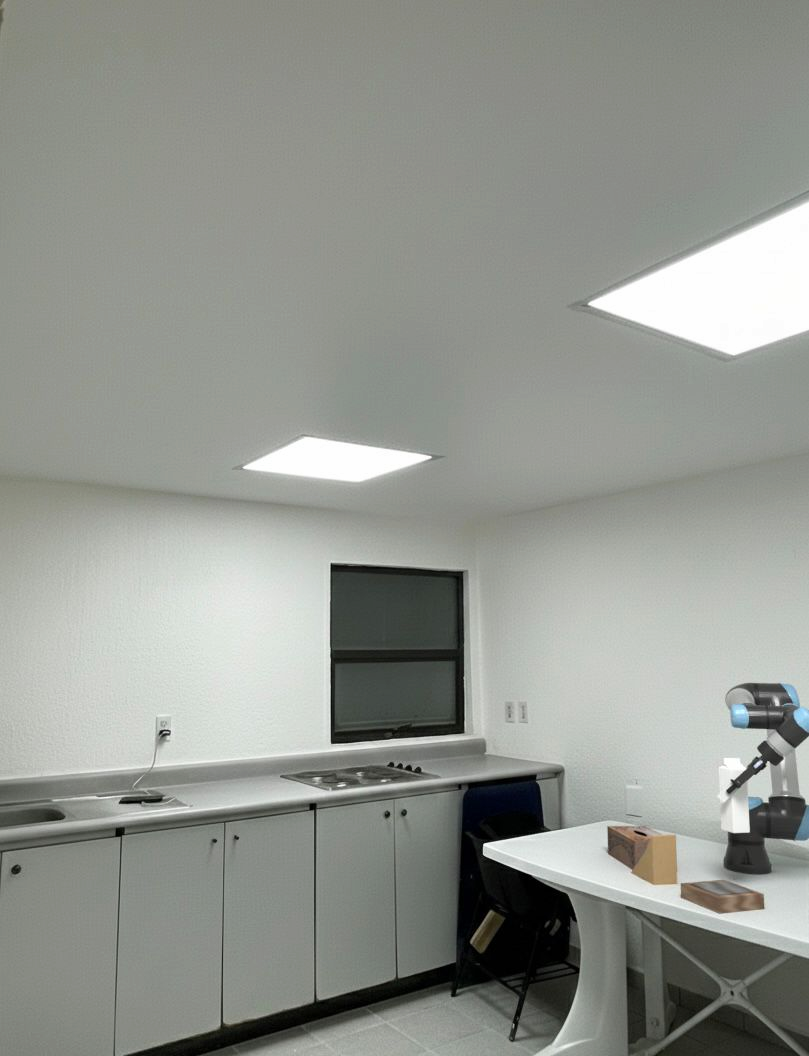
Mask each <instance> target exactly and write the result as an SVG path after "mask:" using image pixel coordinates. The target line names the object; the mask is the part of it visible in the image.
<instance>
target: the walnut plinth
mask: <svg viewBox="0 0 809 1056" xmlns="http://www.w3.org/2000/svg"><path fill="white" fill-rule="evenodd" d="M764 895H765V894H764V893H762V892H759V891H756V890H754V889H752V888H751V889H750V888H748V887H745V886H743V885H740V884H737V883H734V882H732V881H728V880H726V879H717V880H714V879H713V880H703V881H693V882H680V898H681V899H684V900H686V901H689V902H691V903H693V904H696V905H697V906H700V907H703V908H704V909H707V910H710V911H712V912H714V913H717V914H725V913H727V914H729V913H736V912H737V913H738V912H745V911H746V912H747V911H755V910H757V911H758V910H764V909H765V896H764Z"/></svg>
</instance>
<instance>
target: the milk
mask: <svg viewBox="0 0 809 1056" xmlns="http://www.w3.org/2000/svg"><path fill="white" fill-rule="evenodd" d="M746 769H747V767H745V766H744V765H743V764H742V763H741V758H740V757H723V764H721V765H720V766H719V767H718V787H719V793H721V792H722V791H723V790H724V789H725V788H726V787H727V786H728V785H729V784H730V783H731V781H730V780H731V779H732V780H735V779H736V778H737V777H738V776H739V775H740V774H742V773H743V772H744V771H745V770H746ZM748 791H749V789H748V781H746V782H745V783H744V784H743V785H742V786H741V787H740V788H739V789H738V790H737V791H736V792H735V793H734V794H733V795H732V796H731V797H730V798H728V799H727V800H726V801H725V802H724V803H723V802H722V801H721V800H720V799H719V807H720V808H719V810H720V811H719V812H720V813H719V814H720V828H721V830H722V831H724V832H727V833H728V832H731V833H750V826H749V806H748V797H749V792H748Z"/></svg>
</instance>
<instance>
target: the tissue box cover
mask: <svg viewBox="0 0 809 1056" xmlns="http://www.w3.org/2000/svg"><path fill="white" fill-rule="evenodd" d="M606 827H607V854H608V855H609V856H610V857H612V858H613V859H615V860H617V861H619V862H620V863H621V864H623V865H624V866H626V867H627V868H629V869H630V870H631V871H632V870H633V869H634V867H635V866H636V864H637V862H638V860H639V859H640V857H641V855H642V853H643V852H644V850H645V848H646V846H647V845H648V843H649V841H650V839H651V837H652V835H664V834H662V833H661V832H658V831H657V830H654V829H652V828H650V827H648V826H646V825H607V826H606ZM677 854H678V853H677V851H676V856H678V855H677Z"/></svg>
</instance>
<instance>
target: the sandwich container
mask: <svg viewBox="0 0 809 1056" xmlns="http://www.w3.org/2000/svg"><path fill="white" fill-rule="evenodd" d="M676 852H677V835H676V834H663V835H652V837H651V839H650V841H649V843H648V845H647V846H646V848H645V850H644V852H643V853H642V855H641V857H640V859H639V860H638V862H637V864H636V866H635V867H634V869H633V870H632V869H631V872H630V873H631V874H632V875H634V876H636V877H637V878H640V879H642V880H644V882H645V881H646V882H647V883H649V884H651V885H653V886H660V885H661V886H663V885H664V886H665V885H666V886H667V885H678V858H677V856H678V855H677V856H676Z"/></svg>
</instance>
